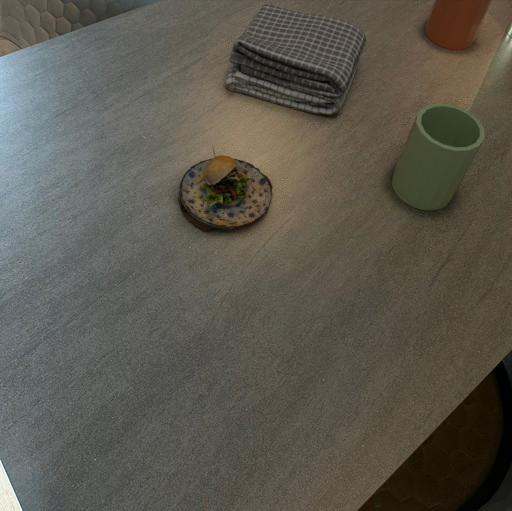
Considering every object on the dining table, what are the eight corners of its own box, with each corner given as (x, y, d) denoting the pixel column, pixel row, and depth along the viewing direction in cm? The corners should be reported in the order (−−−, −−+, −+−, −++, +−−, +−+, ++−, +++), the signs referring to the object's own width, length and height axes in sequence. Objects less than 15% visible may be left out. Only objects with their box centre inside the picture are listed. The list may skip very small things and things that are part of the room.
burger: (205, 249, 75) (208, 208, 69) (162, 182, 80) (161, 139, 74) (289, 216, 79) (299, 175, 74) (243, 155, 85) (248, 112, 79)
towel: (338, 124, 91) (350, 80, 85) (219, 88, 93) (223, 42, 86) (360, 65, 100) (372, 21, 94) (251, 33, 102) (256, -12, 95)
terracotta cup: (462, 20, 111) (487, -40, 102) (480, 49, 106) (508, -11, 97) (418, 20, 109) (440, -41, 101) (434, 50, 105) (458, -11, 96)
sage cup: (439, 163, 88) (469, 102, 80) (461, 208, 84) (495, 148, 75) (383, 166, 87) (407, 104, 78) (402, 212, 82) (430, 152, 73)
